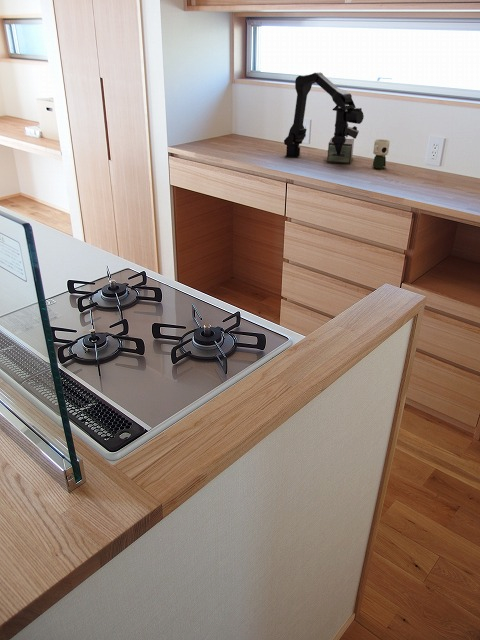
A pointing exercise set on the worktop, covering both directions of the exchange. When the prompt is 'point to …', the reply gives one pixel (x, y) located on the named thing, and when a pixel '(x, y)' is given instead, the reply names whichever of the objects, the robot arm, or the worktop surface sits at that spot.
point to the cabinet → (348, 143)
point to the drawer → (343, 155)
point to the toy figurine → (380, 153)
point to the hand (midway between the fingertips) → (338, 154)
